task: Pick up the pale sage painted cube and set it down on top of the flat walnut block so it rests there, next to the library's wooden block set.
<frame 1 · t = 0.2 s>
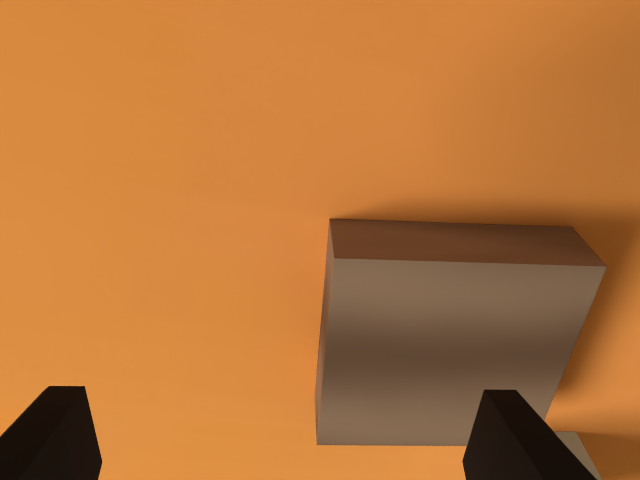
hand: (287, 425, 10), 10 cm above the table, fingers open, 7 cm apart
walnut base: (429, 312, 22), on the table
sage cube: (518, 460, 27), on the table
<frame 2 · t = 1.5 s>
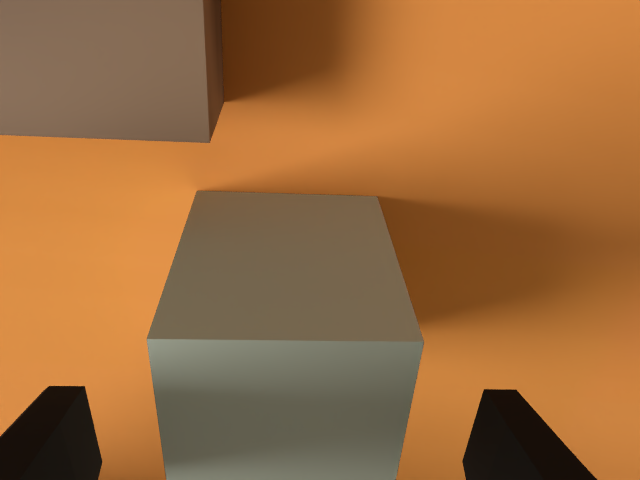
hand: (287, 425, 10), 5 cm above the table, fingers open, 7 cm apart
sage cube: (285, 267, 15), on the table
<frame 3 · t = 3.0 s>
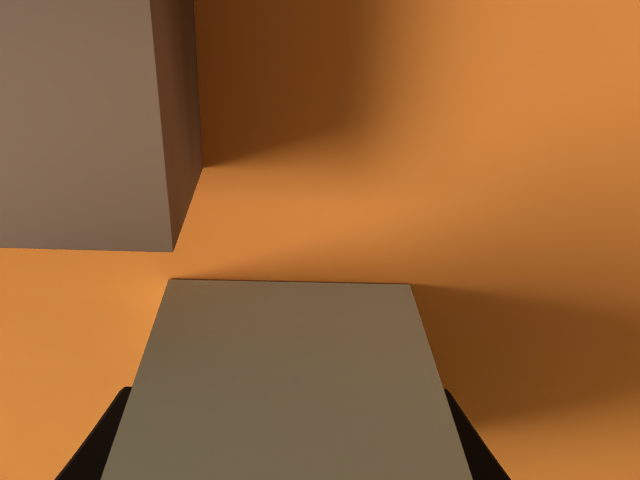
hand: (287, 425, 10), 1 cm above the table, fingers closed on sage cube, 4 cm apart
sage cube: (287, 370, 11), on the table, touching gripper
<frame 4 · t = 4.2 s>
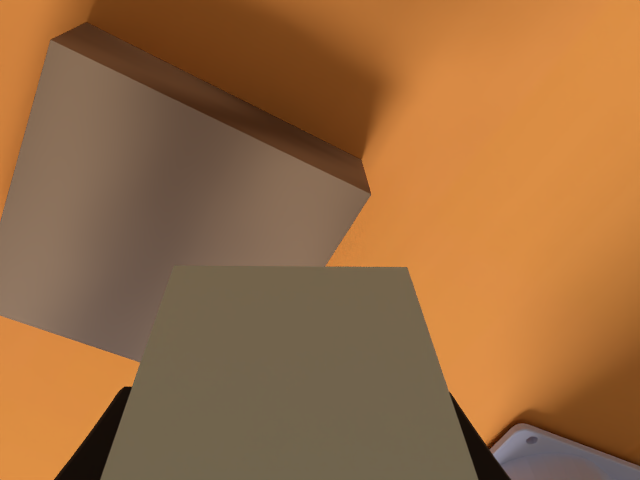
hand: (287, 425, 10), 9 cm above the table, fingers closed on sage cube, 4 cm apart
walnut base: (182, 207, 19), on the table
sage cube: (290, 354, 12), point 8 cm above the table, touching gripper
when the fingers open (6 cm above the table, at t = 5.9 s): sage cube drops 2 cm, point 2 cm above the table.
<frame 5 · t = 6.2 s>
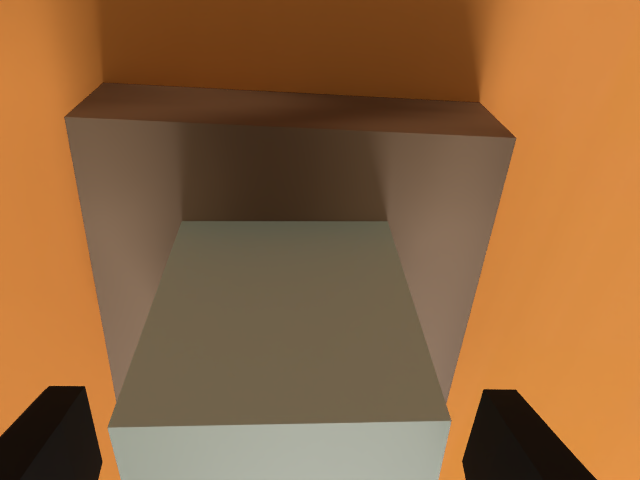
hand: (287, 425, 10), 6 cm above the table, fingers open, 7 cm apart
walnut base: (289, 242, 16), on the table
sage cube: (286, 303, 13), point 2 cm above the table
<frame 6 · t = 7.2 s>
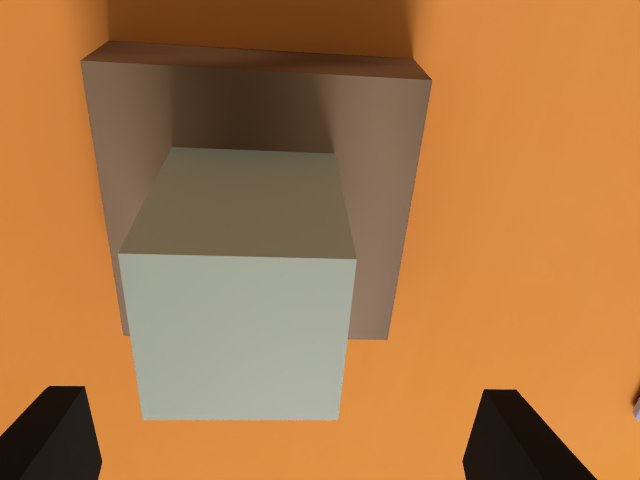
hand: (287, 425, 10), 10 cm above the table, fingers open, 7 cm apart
walnut base: (263, 181, 19), on the table, touching sage cube
sage cube: (253, 221, 16), point 2 cm above the table, touching walnut base
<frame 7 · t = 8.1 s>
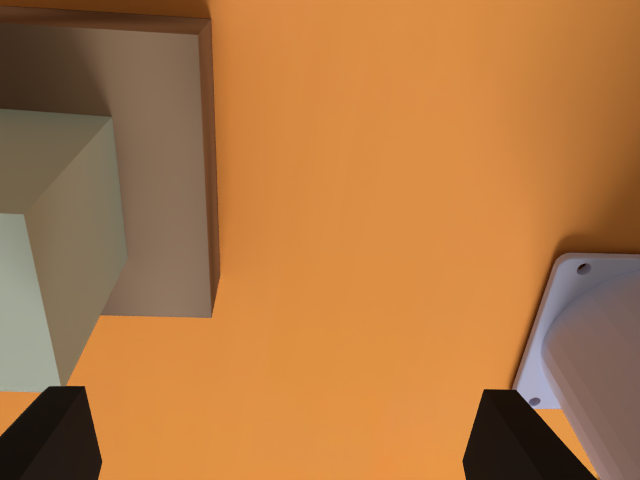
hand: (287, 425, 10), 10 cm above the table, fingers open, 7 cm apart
walnut base: (81, 151, 18), on the table
sage cube: (39, 187, 15), point 2 cm above the table
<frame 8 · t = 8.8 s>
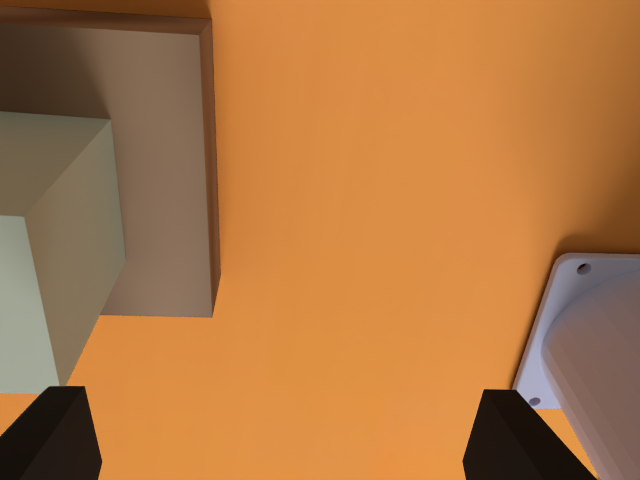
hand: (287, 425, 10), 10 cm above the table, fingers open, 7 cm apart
walnut base: (82, 151, 18), on the table
sage cube: (37, 190, 15), point 2 cm above the table
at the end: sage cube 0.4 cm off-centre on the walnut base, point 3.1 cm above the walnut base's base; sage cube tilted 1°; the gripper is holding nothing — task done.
